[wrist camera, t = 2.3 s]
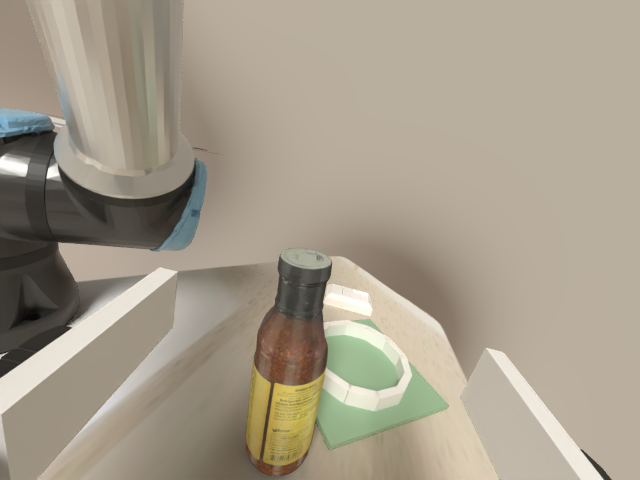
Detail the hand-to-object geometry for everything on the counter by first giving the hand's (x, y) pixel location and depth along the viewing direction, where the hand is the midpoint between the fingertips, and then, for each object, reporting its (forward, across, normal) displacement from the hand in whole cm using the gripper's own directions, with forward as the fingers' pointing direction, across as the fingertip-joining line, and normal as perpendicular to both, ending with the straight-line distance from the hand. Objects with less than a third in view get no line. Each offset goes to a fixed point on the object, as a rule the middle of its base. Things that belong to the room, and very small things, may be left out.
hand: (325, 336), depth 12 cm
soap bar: (+40, +8, -21) cm, 46 cm away
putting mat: (+23, +8, -21) cm, 32 cm away
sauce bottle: (+10, 0, -21) cm, 23 cm away
